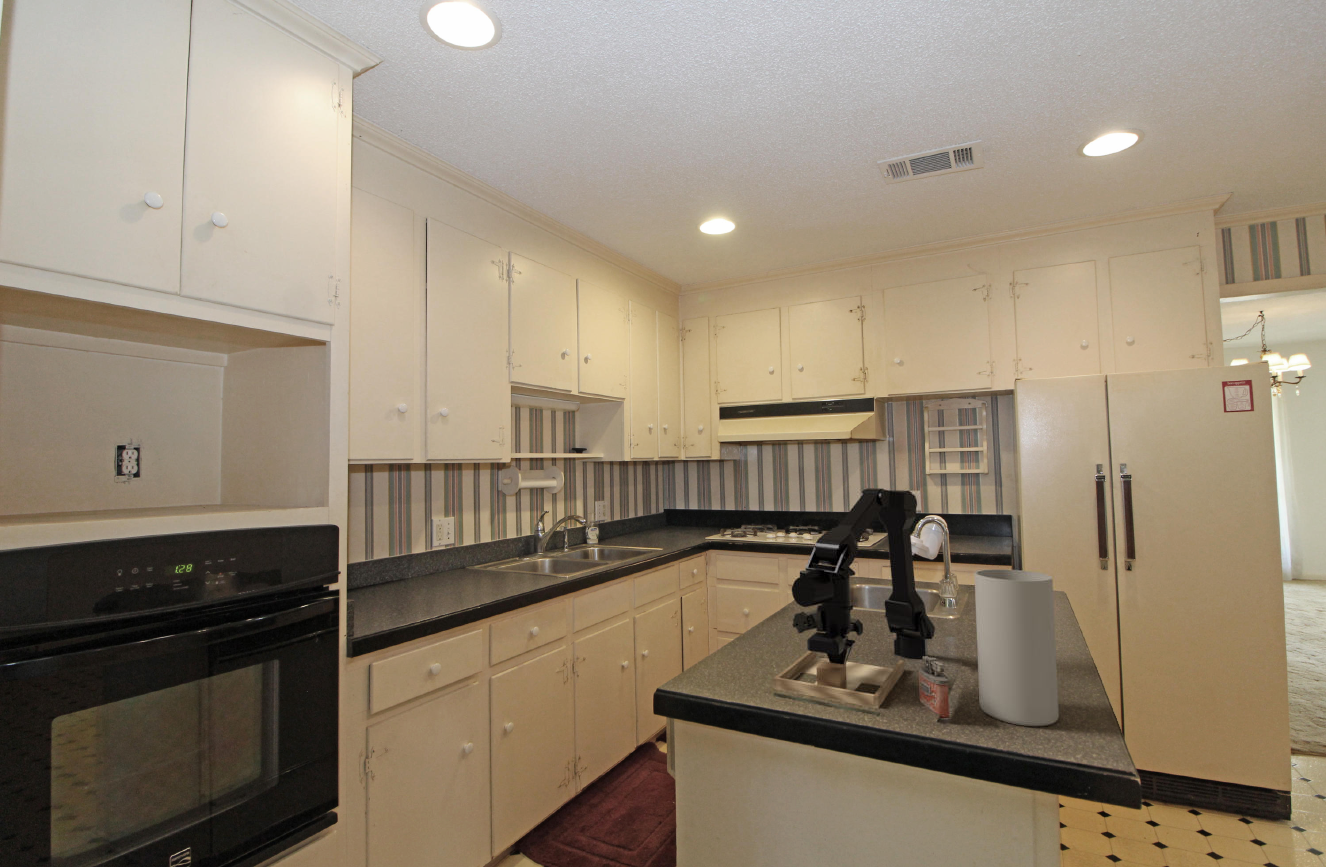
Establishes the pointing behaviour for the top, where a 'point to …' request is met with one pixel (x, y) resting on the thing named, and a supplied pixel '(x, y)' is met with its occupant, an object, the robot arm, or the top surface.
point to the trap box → (853, 678)
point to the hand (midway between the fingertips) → (837, 677)
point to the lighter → (934, 688)
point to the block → (832, 675)
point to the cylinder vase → (1016, 646)
